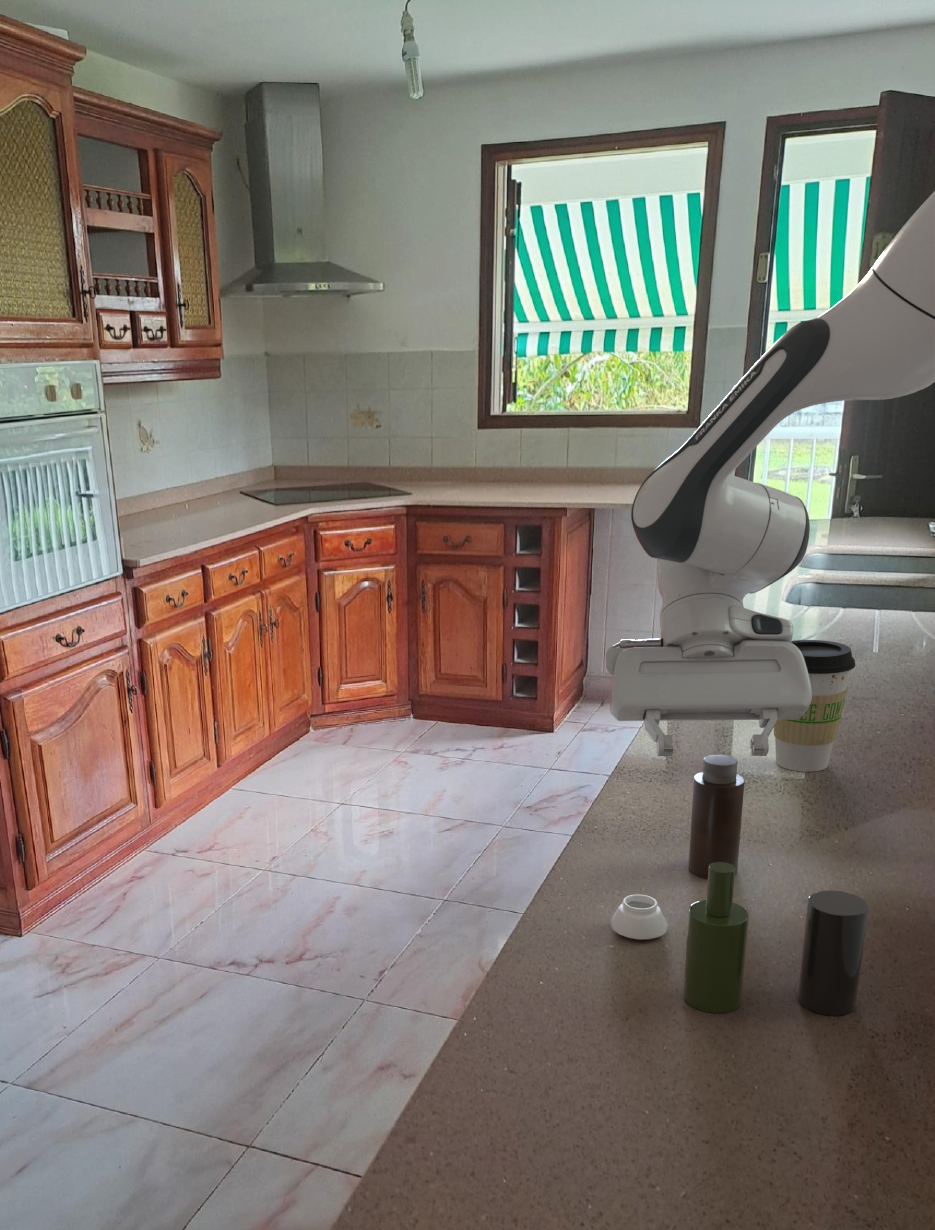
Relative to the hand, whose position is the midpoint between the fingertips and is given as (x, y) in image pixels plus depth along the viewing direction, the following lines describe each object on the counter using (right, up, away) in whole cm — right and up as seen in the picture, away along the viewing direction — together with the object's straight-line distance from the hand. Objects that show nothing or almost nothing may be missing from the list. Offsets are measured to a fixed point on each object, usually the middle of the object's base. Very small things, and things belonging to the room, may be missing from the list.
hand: (712, 754), depth 116 cm
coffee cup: (+20, -1, +27) cm, 34 cm away
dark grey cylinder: (+1, -21, -24) cm, 32 cm away
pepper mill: (0, -12, 0) cm, 12 cm away
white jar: (-11, -17, -11) cm, 23 cm away
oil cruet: (-8, -21, -23) cm, 32 cm away
